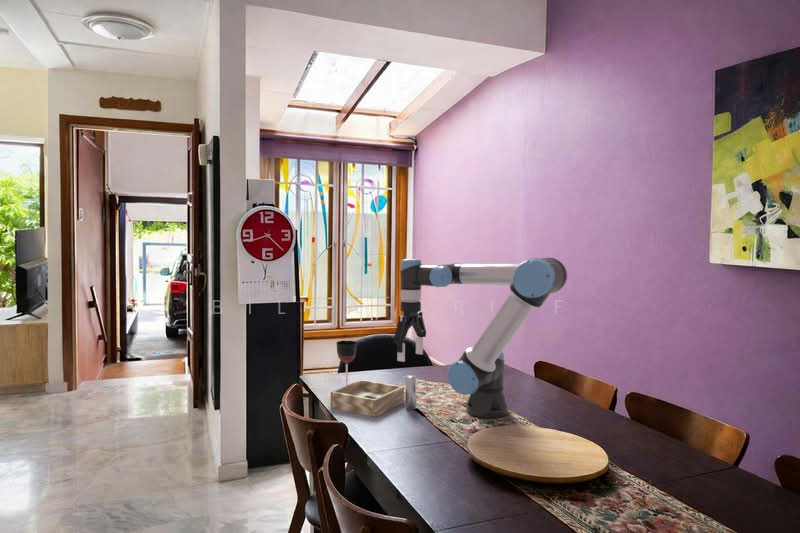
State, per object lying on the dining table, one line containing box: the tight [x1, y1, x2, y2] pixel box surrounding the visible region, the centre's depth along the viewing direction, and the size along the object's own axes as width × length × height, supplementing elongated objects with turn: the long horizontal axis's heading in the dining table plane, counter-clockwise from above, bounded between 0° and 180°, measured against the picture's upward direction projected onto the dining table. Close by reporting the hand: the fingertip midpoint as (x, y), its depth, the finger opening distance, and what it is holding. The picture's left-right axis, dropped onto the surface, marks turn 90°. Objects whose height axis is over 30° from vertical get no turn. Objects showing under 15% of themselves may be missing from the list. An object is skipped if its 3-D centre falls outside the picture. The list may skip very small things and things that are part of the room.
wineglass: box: [336, 340, 357, 386], centre depth 221 cm, size 8×9×20 cm
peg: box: [405, 374, 417, 411], centre depth 197 cm, size 4×4×12 cm
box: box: [330, 379, 405, 418], centre depth 201 cm, size 20×20×6 cm
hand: (410, 357), depth 196 cm, fingers open, 13 cm apart
